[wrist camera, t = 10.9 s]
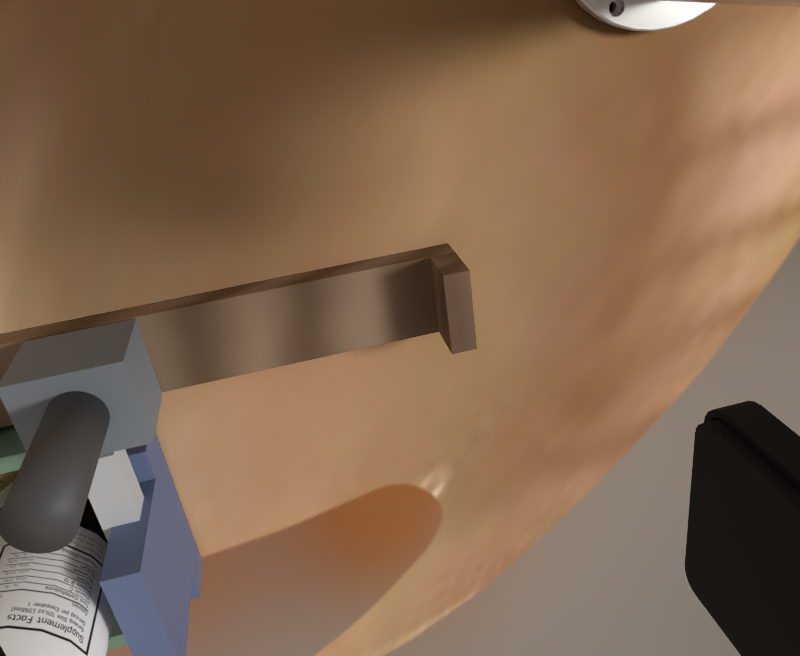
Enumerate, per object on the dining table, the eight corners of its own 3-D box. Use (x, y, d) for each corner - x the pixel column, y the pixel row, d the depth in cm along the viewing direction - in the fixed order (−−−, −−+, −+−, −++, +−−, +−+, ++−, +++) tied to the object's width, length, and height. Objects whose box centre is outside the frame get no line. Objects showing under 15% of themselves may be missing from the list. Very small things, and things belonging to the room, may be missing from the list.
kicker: (139, 308, 40) (94, 458, 27) (223, 556, 49) (219, 755, 36) (30, 330, 39) (-68, 495, 27) (136, 577, 48) (101, 788, 36)
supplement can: (155, 532, 47) (124, 743, 34) (38, 577, 47) (-39, 808, 34) (95, 441, 44) (33, 641, 30) (-33, 490, 43) (-151, 713, 30)
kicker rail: (447, 243, 43) (469, 270, 39) (455, 316, 45) (476, 348, 41) (-73, 349, 39) (-107, 390, 35) (-35, 422, 41) (-64, 469, 37)
